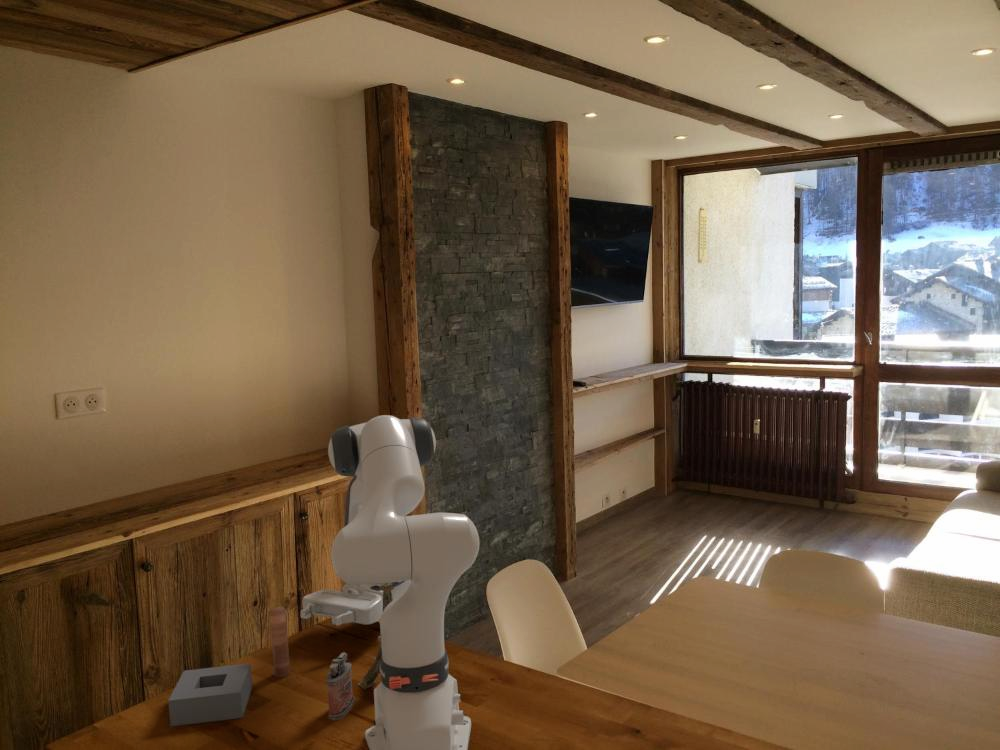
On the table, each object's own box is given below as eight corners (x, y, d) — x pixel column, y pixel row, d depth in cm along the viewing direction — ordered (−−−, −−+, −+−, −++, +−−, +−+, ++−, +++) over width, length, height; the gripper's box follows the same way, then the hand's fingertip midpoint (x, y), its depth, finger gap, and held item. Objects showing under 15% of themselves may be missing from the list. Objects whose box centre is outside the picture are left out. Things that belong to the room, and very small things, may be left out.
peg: (289, 676, 176) (284, 611, 174) (273, 678, 175) (268, 613, 174) (290, 670, 179) (285, 606, 178) (275, 671, 178) (270, 607, 177)
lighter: (341, 720, 156) (338, 668, 155) (324, 719, 157) (320, 667, 156) (357, 699, 164) (354, 650, 163) (341, 699, 164) (337, 649, 164)
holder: (242, 717, 159) (240, 692, 159) (170, 726, 157) (168, 700, 157) (252, 686, 172) (250, 663, 171) (186, 694, 170) (183, 670, 170)
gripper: (326, 579, 203) (283, 598, 191) (392, 590, 192) (351, 611, 180) (328, 604, 203) (285, 625, 192) (394, 617, 193) (354, 639, 181)
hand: (318, 618), depth 186 cm, fingers open, 8 cm apart
